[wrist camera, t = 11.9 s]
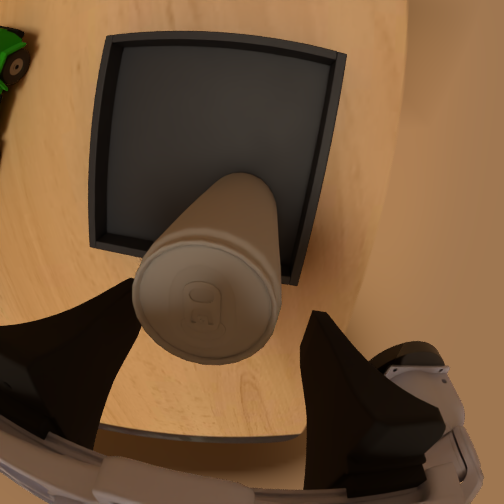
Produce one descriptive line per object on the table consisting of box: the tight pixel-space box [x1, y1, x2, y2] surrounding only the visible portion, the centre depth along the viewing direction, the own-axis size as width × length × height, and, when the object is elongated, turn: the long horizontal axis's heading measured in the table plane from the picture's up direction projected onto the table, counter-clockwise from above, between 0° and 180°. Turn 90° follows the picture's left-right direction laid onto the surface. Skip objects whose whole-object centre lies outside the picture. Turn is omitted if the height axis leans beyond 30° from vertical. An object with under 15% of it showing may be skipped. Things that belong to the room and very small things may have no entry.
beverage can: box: [132, 173, 282, 365], centre depth 14 cm, size 5×5×12 cm
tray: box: [88, 31, 347, 286], centre depth 18 cm, size 15×15×2 cm
